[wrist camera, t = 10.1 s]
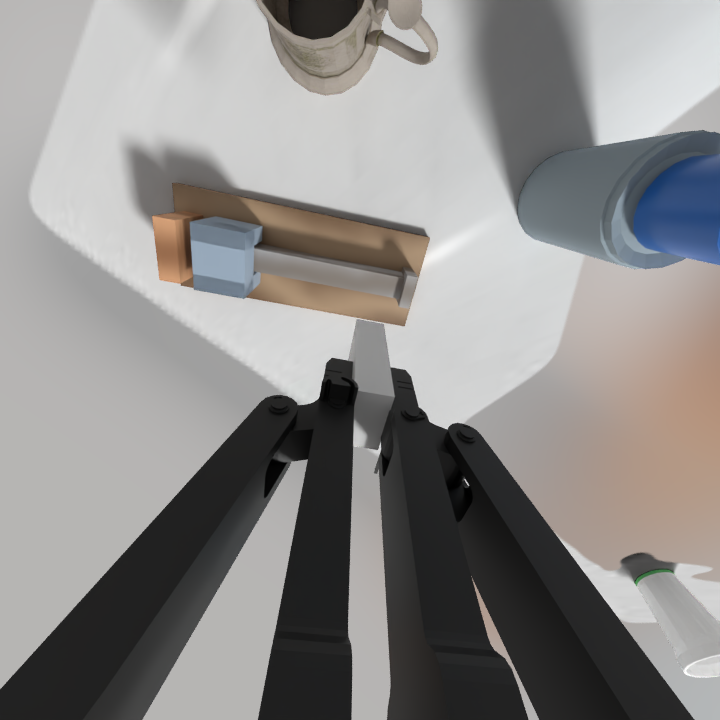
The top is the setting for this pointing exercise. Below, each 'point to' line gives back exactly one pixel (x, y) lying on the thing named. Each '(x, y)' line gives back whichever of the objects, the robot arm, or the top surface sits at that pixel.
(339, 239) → the rail board
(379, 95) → the top surface
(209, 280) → the slider
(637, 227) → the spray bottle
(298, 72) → the mug
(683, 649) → the cup
